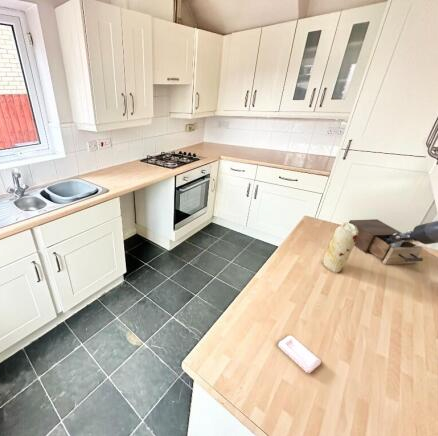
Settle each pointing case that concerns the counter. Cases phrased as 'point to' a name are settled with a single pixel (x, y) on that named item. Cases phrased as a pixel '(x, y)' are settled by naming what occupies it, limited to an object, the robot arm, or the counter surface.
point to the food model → (340, 246)
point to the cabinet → (370, 232)
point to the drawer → (394, 251)
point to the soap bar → (299, 354)
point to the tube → (395, 244)
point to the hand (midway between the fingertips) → (390, 241)
